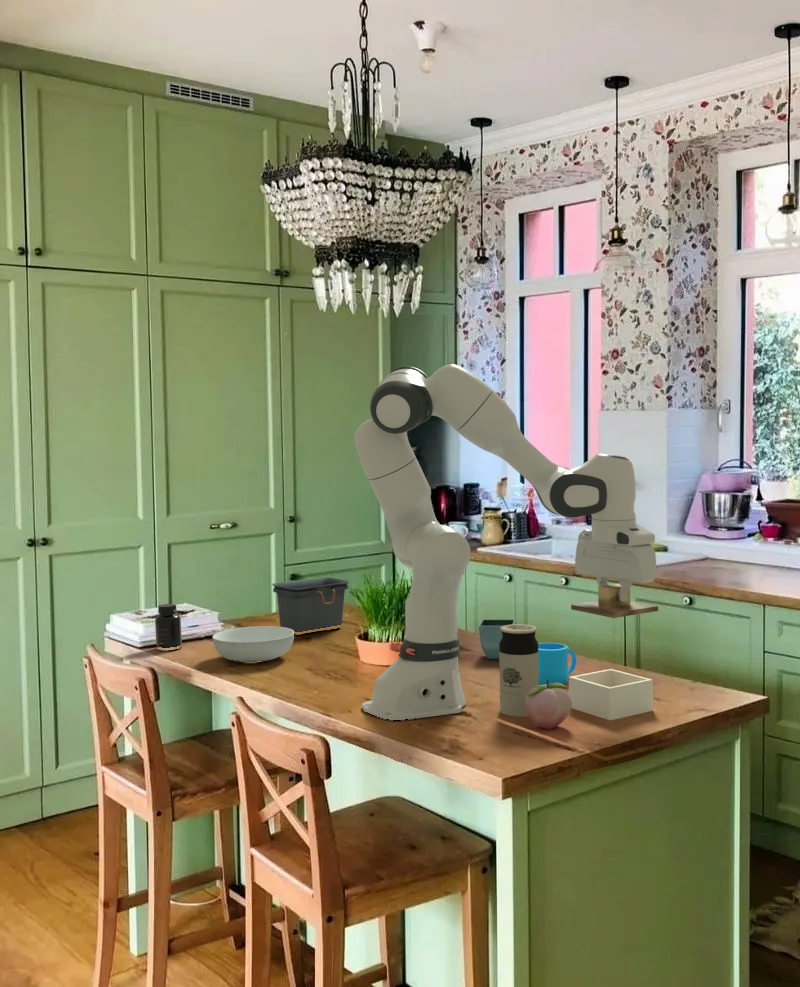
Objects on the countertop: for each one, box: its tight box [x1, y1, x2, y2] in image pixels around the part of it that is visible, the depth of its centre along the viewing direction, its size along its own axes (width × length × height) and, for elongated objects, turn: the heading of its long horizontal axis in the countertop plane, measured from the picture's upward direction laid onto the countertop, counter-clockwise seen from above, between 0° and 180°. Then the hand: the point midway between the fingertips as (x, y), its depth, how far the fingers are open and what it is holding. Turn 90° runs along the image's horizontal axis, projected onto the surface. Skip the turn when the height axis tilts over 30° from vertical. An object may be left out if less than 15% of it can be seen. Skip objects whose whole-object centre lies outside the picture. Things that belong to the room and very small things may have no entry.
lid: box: [570, 583, 659, 619], centre depth 221 cm, size 12×12×5 cm
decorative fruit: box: [525, 680, 572, 730], centre depth 210 cm, size 9×8×10 cm
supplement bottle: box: [154, 603, 183, 648], centre depth 291 cm, size 7×7×12 cm
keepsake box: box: [568, 668, 654, 721], centre depth 222 cm, size 12×12×7 cm
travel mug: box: [498, 623, 539, 718], centre depth 221 cm, size 8×8×18 cm
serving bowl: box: [212, 625, 295, 663], centre depth 277 cm, size 21×21×7 cm
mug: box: [538, 642, 578, 685], centre depth 249 cm, size 12×8×8 cm
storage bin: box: [271, 577, 350, 632], centre depth 312 cm, size 21×16×14 cm
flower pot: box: [478, 618, 516, 660], centre depth 274 cm, size 9×9×9 cm
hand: (614, 599), depth 221 cm, fingers closed on lid, 3 cm apart
